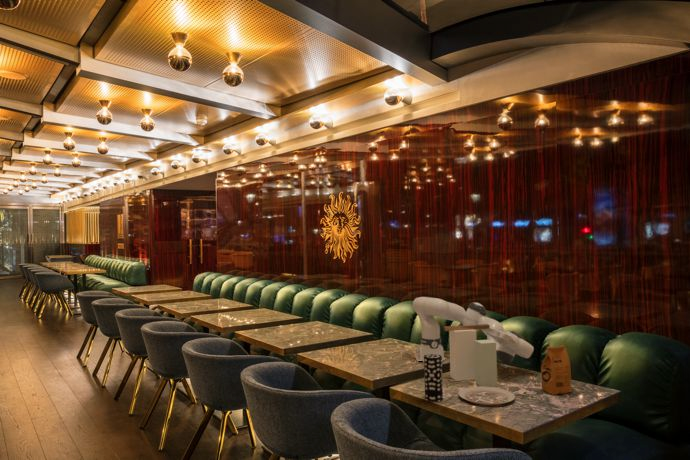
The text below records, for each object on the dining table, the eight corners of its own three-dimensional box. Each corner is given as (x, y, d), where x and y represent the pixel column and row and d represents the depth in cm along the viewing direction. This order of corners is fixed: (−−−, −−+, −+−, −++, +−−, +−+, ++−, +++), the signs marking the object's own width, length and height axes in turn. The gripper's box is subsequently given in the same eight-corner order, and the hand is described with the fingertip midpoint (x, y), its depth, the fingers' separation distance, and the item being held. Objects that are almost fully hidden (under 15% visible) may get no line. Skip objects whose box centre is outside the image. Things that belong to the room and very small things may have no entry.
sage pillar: (475, 383, 256) (474, 340, 257) (489, 381, 258) (488, 339, 258) (482, 387, 249) (481, 343, 249) (497, 386, 250) (496, 342, 251)
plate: (447, 394, 239) (447, 390, 239) (491, 388, 248) (491, 384, 248) (480, 411, 215) (479, 406, 215) (527, 403, 224) (527, 398, 224)
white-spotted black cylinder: (421, 397, 234) (420, 355, 235) (436, 395, 238) (435, 353, 238) (431, 402, 227) (430, 359, 227) (446, 400, 230) (445, 357, 231)
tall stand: (450, 376, 269) (449, 329, 269) (471, 375, 271) (469, 327, 272) (456, 381, 261) (455, 331, 261) (477, 379, 263) (476, 330, 264)
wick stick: (444, 330, 266) (444, 326, 266) (487, 327, 271) (487, 324, 271) (446, 331, 263) (445, 327, 263) (489, 328, 268) (489, 324, 268)
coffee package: (538, 389, 243) (537, 344, 243) (560, 387, 246) (558, 343, 246) (552, 395, 233) (550, 349, 234) (574, 393, 236) (572, 347, 237)
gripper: (514, 349, 260) (493, 337, 258) (495, 341, 280) (475, 330, 278) (519, 338, 261) (498, 326, 259) (500, 331, 281) (480, 320, 279)
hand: (486, 328), depth 269 cm, fingers open, 8 cm apart
